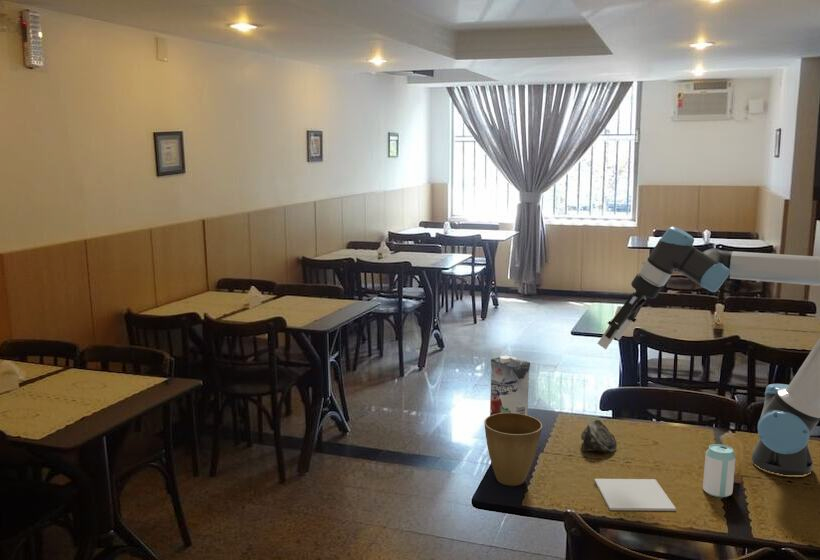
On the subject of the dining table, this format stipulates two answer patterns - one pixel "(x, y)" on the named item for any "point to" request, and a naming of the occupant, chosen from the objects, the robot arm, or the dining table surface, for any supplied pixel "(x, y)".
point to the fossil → (598, 438)
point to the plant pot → (512, 445)
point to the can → (719, 470)
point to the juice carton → (509, 385)
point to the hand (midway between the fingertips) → (608, 341)
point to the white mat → (634, 494)
